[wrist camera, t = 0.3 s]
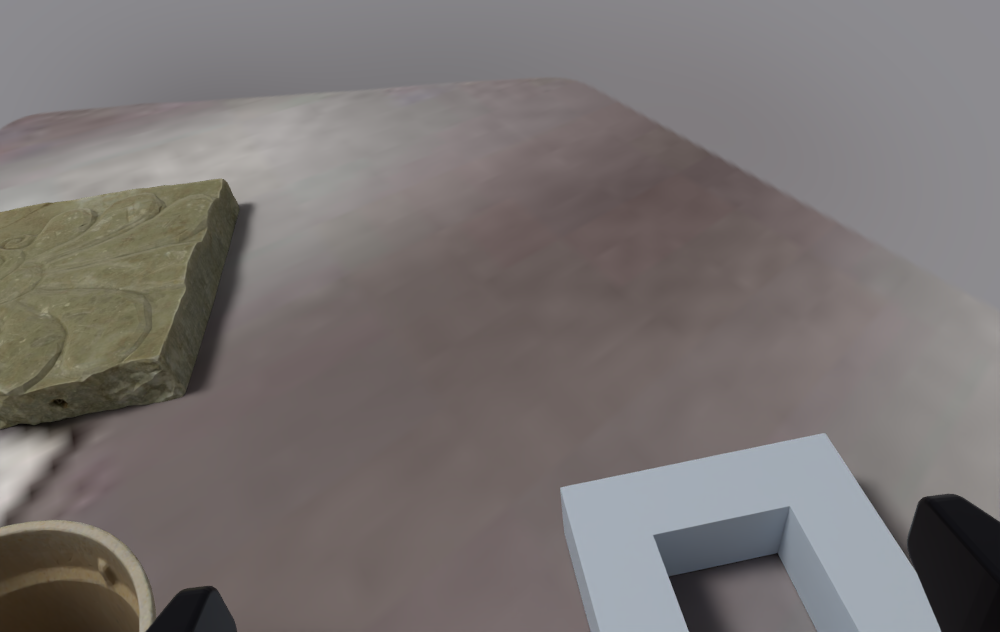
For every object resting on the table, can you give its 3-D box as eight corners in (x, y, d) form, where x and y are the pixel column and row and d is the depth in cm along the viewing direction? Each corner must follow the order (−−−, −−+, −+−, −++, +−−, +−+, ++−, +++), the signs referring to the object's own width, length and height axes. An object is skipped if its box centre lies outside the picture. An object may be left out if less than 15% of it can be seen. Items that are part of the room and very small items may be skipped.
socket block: (976, 757, 22) (1011, 718, 20) (644, 834, 21) (647, 801, 19) (811, 481, 29) (824, 432, 27) (564, 533, 29) (560, 487, 27)
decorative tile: (-48, 257, 50) (-81, 213, 48) (243, 210, 51) (225, 164, 48) (-216, 479, 36) (-274, 433, 34) (190, 412, 36) (160, 361, 34)
